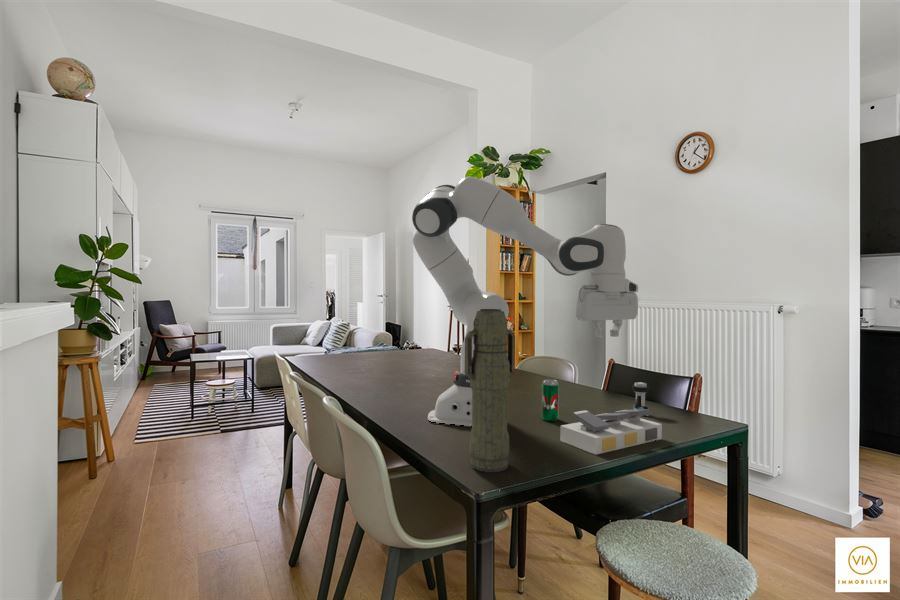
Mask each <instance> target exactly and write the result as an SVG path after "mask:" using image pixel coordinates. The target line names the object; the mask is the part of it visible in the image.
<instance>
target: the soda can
mask: <svg viewBox="0 0 900 600" xmlns="http://www.w3.org/2000/svg"><path fill="white" fill-rule="evenodd" d="M559 387H560V384H559V382H558V380H556V379H548V378H547V379H543V381H542V383H541V418H542V420H543V421H545V422H551V421H553V422H556V421H558V420H559V417H560V416H559V415H560V414H559V407H560V406H559V404H560V399H559V398H560V397H559V396H560V393H559V392H560V389H559Z"/></svg>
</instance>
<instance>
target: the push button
mask: <svg viewBox="0 0 900 600" xmlns="http://www.w3.org/2000/svg"><path fill="white" fill-rule="evenodd" d="M631 388H632V391H633V392H634V393H635V403H634V404H633V408H632V410H641V409H649V407H647V406H646V394H647V393H649V390H650V385H647V383H646V382H641V381H640V382H638V381H637V382H634V384H632V385H631ZM649 416H650V414H647V415H642V416H641V417H649Z"/></svg>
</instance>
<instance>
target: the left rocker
mask: <svg viewBox="0 0 900 600" xmlns="http://www.w3.org/2000/svg"><path fill="white" fill-rule="evenodd" d="M595 415H596V414H593V413H591V412H590V411H588V410H586V409H585V410H579V411H574V412H572V414H571V418H573V419H575V420H576V421H577V422H580V423H582V424H583V425H585V426H586V427H588V428H589V429H591V430H593V431H594V432H596V431H601V430H606V429H609V424H608V423H606V422H604V421H603V420H601V419H600V418H598V417H596V416H595Z"/></svg>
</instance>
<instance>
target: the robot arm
mask: <svg viewBox="0 0 900 600" xmlns="http://www.w3.org/2000/svg"><path fill="white" fill-rule="evenodd" d="M460 218H465V219H469V220H471V221H473V222H475V223H477V224H478V225H480V226H482V227H483V228H485V229H487V230H489V231H492V232H493V233H497V234H499V235H502V236H504V237H507V238H509V239H512V240H515V241H517V242H519V243H521V244H522V245H524V246H526V247H527V248H529V249H531V250H533V251H534V252H536V253H537V254H539V255H541V256H542V257H543V258H544V259H546V260H547V261H548V262H549V264H550V266H551V267H552V268H553V269H554V271H556V272H557V273H558V274H560V275H562V276H565V277H566V276H567V277H569V276H575V275H578V273H581V272H584V271H589V272H590V284H589V285H588V284H585V285H582V287H581V288H580V289H579V290H578V296H577V301H576V308H575V317H576V318H577V321H582V322H583V321H584V322H589V321H591V325H592V328H593V330H594V337H595V338H604V337H605V331H604V330H603V329H602V327H601V325H602V321H612V324H613V326H612V329H609V336H610V337H613V338H616V337H617V338H618V337H619V336H620V329H621V327H622V326H623V320H636V319H637V316H638V313H639V312H638V311H639V298H638V295H637V292H639V285H638V284H636V283H635V282H633V281H632V280H629V279H628V278H626V270H625V263H626V259H627V256H626V255H627V250H626V238H625V233H624V230H623V229H622V228H621V227H619V226H617V225H614V224H609V223H600V224H595V225H594V226H593V227H592V228H590V229H588V230H586V231H585V232H583V233H580V234H578V235H574V236H571V237H569V238H567V239H559V238H557V237H555V236H554V235H552V234H551V233H549V232H547V231H546V230H544V229H542V228H540V227H539V226H538V225H536V224H534V223H533V222H532V220H531V219H530V218H529V217H528V215H527V213H526V211H525V209H524V206H523V204H522V203H521V202H520V200H518V199H517V198H516V197H514V196H513V195H512V194H510V193H509V192H508V191H506V190H504V189H502V188H501V187H498V186H496V185H495V184H493V183H490V182H488V181H486V180H483V179H481V178H479V177H478V178H477V177H474V176H469V175H468V176H465V177H463V178H461V179H460V180H459V181H458V183H456V185H455V186H454V185H453V184H443V185H438V186H437V187H435V188H434V189H432V190H430V191H428V192H427V193H426V194H425V195H424V196H423V198H422V199H421V200H420V201H418V203H417V204H416V205H415V207H414V209H413V211H412V218H411V219H412V220H411V221H412V224H413V227H414V229H415V230H416V232H415V233H414V235H413V237H412V243H413V247H414V248H415V251H416V253H417V254H418V257H419V258H420V260H421V262H422V263H423V265H424V266H425V268H426V269H427V271H428V272H429V273H430V275H431V276H432V277H433V279H434V280H435V282H436V283H437V285H438V286H439V287H440V289H441V290H442V292H443V294H444V296H445V298H446V300H447V302H448V304H449V306H450V307H451V309H452V314H453V316H454V318H455V319H456V320H457V321H458V322H459V323H461V324H462V325H464V326H467V327H466V332H465V337H466V335H467V334H468V332H469V331H473V329H474V319H475V316H476V313H477V311H480V309H501V311H504V313H505V317H506V320H507V321H508V317H509V311H510V307H509V305H508V302H507V301H506V300H505V299H504V297H503V296H500V295H499V294H497V293H495V292H491V291H483V290H481V289H480V288H479V286H478V284H477V282H476V279H475V277H474V270H473V267H472V266H471V265H470V263H469V262H468V260H467V258H466V257H465V256H464V255H463V253H462V251H460V249H459V248H458V246H457V244H456V243H455V241H454V240H453V239H452V237H451V234H450V228H451V227H452V226H453V225H454V224H455V223H456V222H457V220H458V219H460ZM465 337H464V339H463V343H462V344H461V346H460V371H455V372H454V373H453V385H451V386H450V387H449V388H447V389H446V390H445V391H444V392H443V393H442V392H441V394H440V395H439V396H438V397H437V399H436V403H435V406H434V409H432V410H430V411H429V412H428V414H427V421H428V420H429V421H431V422H436V423H435V424H439V423H445V424H444V425H450V424H455V425H454V426H460V425H464V426H463V427H471V426H472V389H471V387H470V378H469V377H468V376H467V375H466V374H465ZM473 350H474V344H473V337H472V358H473ZM429 421H428V422H429ZM431 422H430V423H431Z"/></svg>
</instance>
